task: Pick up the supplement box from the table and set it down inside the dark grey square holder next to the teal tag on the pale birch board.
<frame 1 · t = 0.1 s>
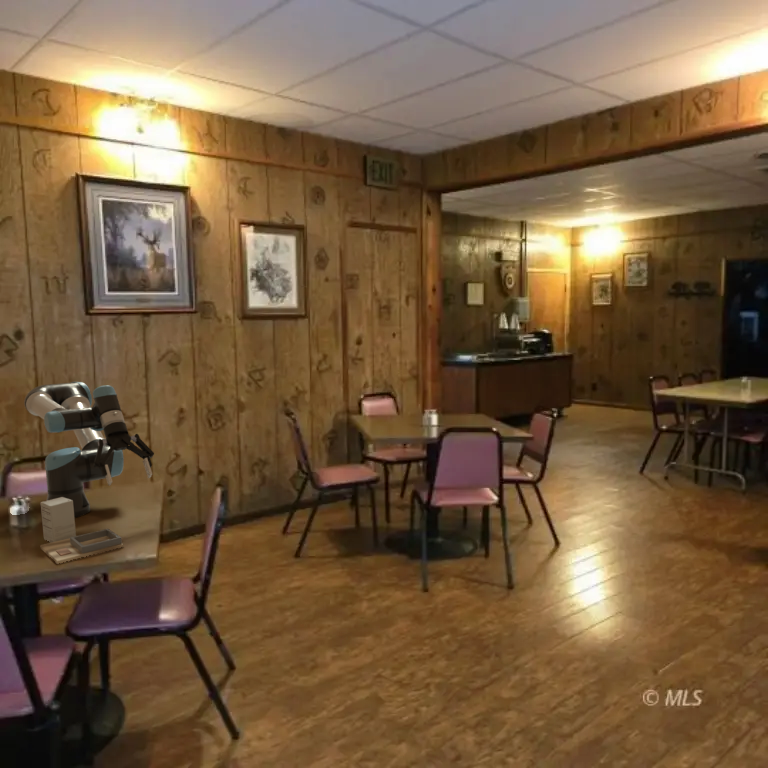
hand: (130, 479, 222), 15 cm above the table, tool tilted 35°, fingers open, 13 cm apart
supplement box: (60, 539, 210), on the table
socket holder: (96, 546, 202), resting on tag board
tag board: (81, 547, 201), on the table
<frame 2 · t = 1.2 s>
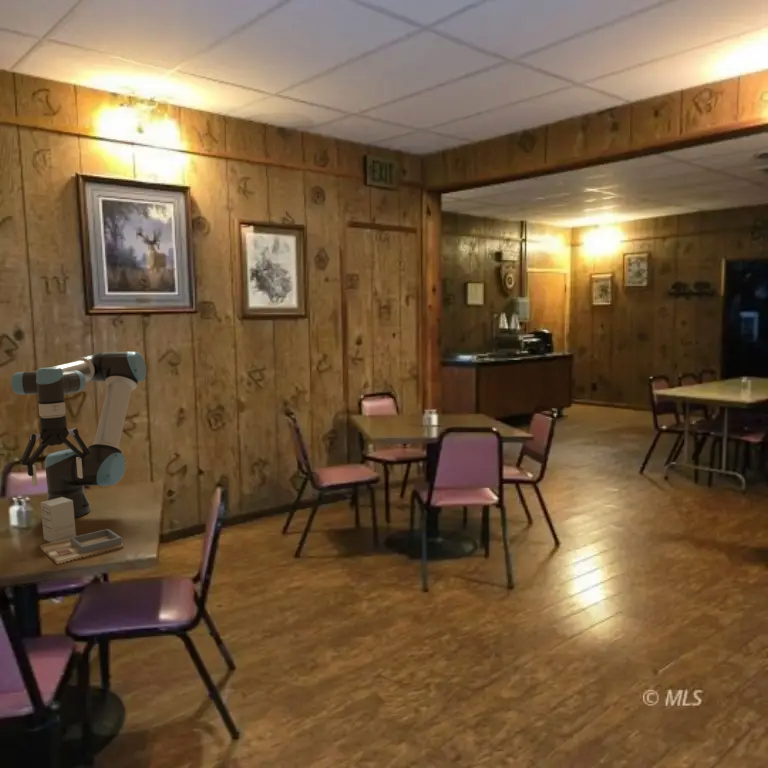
hand: (58, 481, 208), 19 cm above the table, tool pointing down, fingers open, 13 cm apart
nothing on the table moved.
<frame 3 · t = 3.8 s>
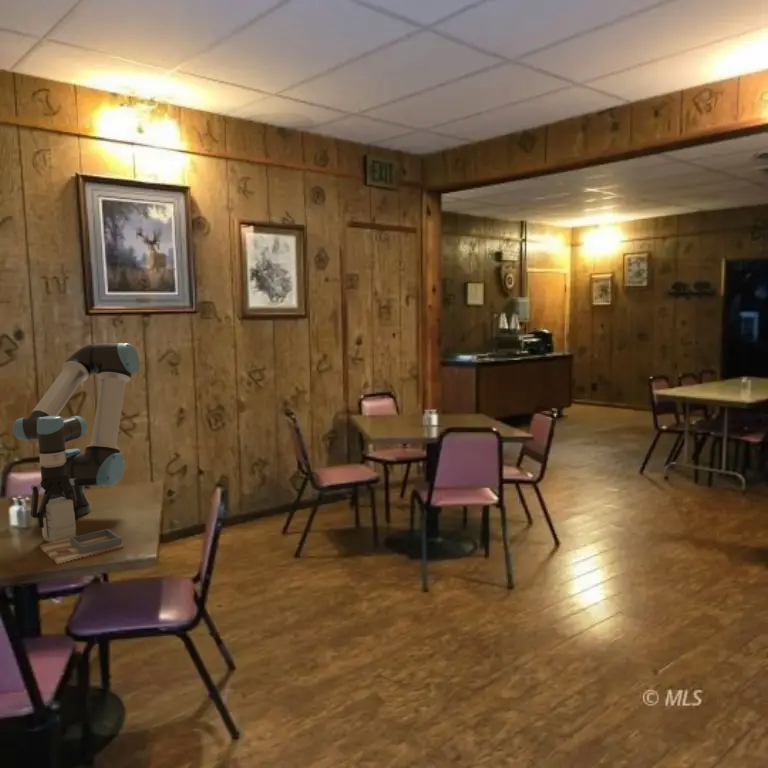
hand: (59, 533, 210), 2 cm above the table, tool pointing down, fingers closed on supplement box, 8 cm apart
supplement box: (59, 539, 210), on the table, touching gripper
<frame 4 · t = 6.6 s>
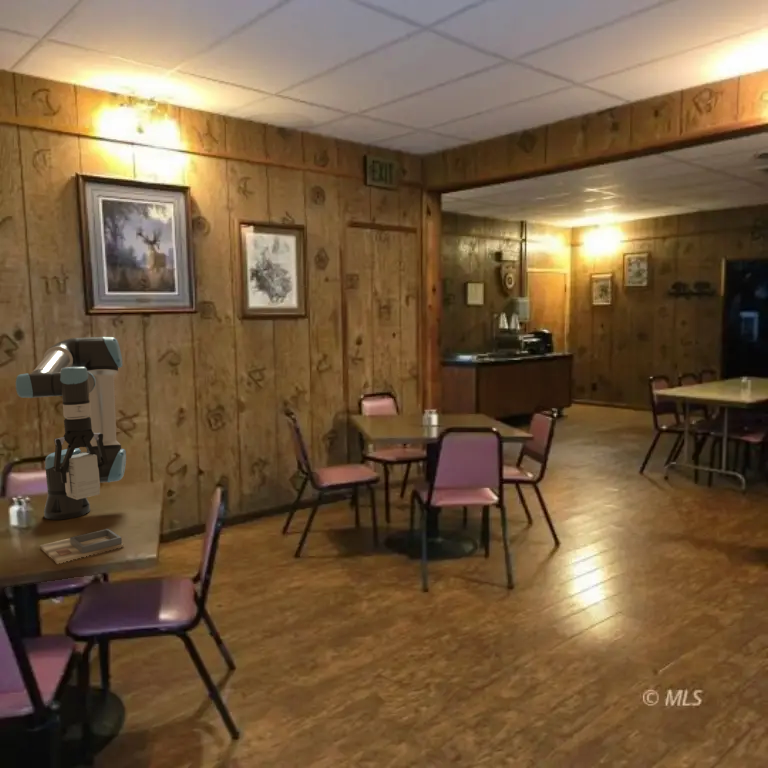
hand: (83, 490, 201), 18 cm above the table, tool pointing down, fingers closed on supplement box, 8 cm apart
supplement box: (83, 496, 201), point 16 cm above the table, touching gripper
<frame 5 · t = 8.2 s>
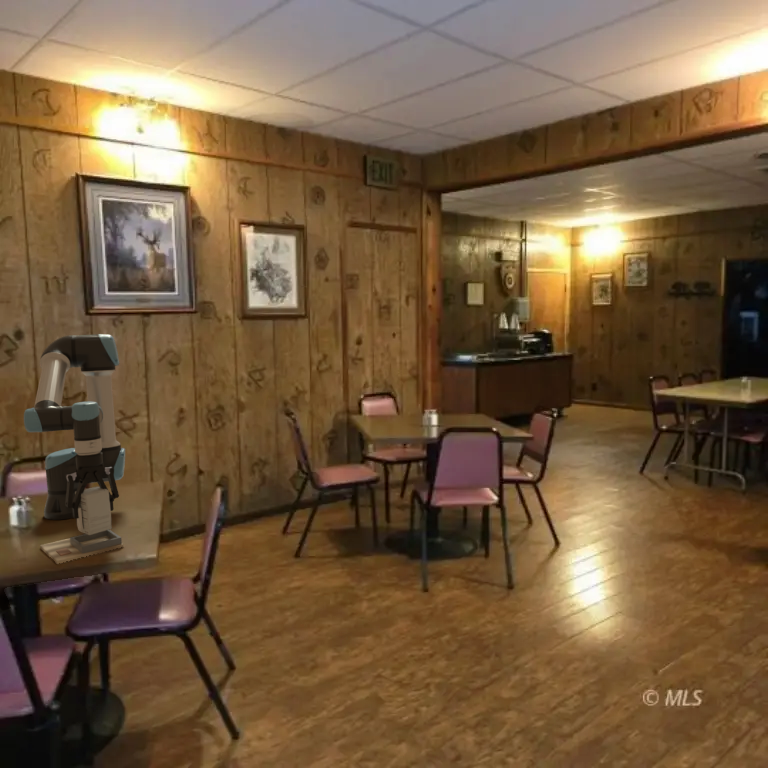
hand: (94, 524, 201), 7 cm above the table, tool pointing down, fingers closed on supplement box, 8 cm apart
supplement box: (94, 530, 201), point 5 cm above the table, touching gripper
when the fingers open (4 cm above the table, at t = 9.6 s): supplement box drops 1 cm, resting on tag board.
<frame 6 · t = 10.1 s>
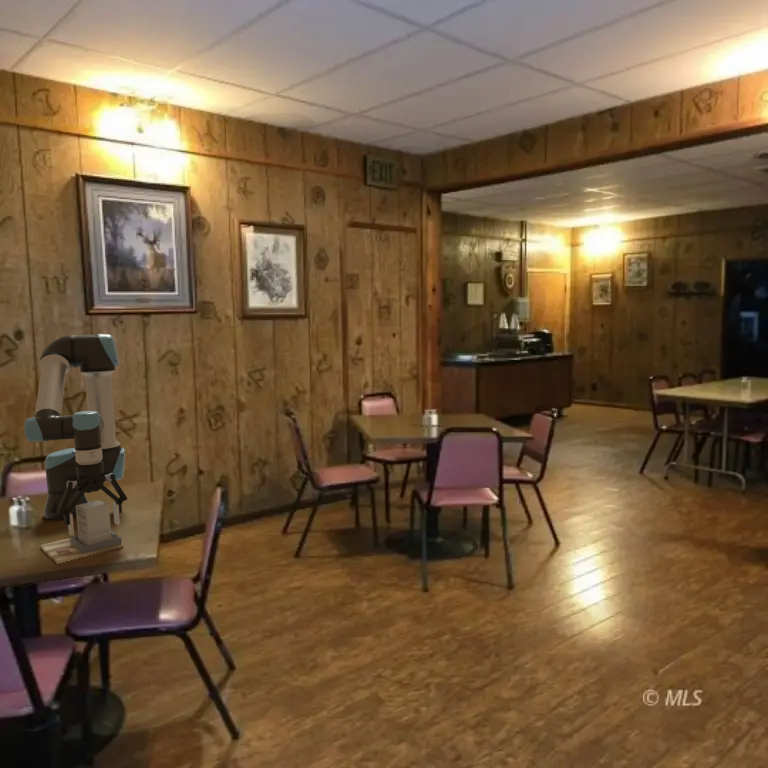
hand: (94, 529, 201), 6 cm above the table, tool pointing down, fingers open, 13 cm apart
supplement box: (95, 544, 201), point 1 cm above the table, touching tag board
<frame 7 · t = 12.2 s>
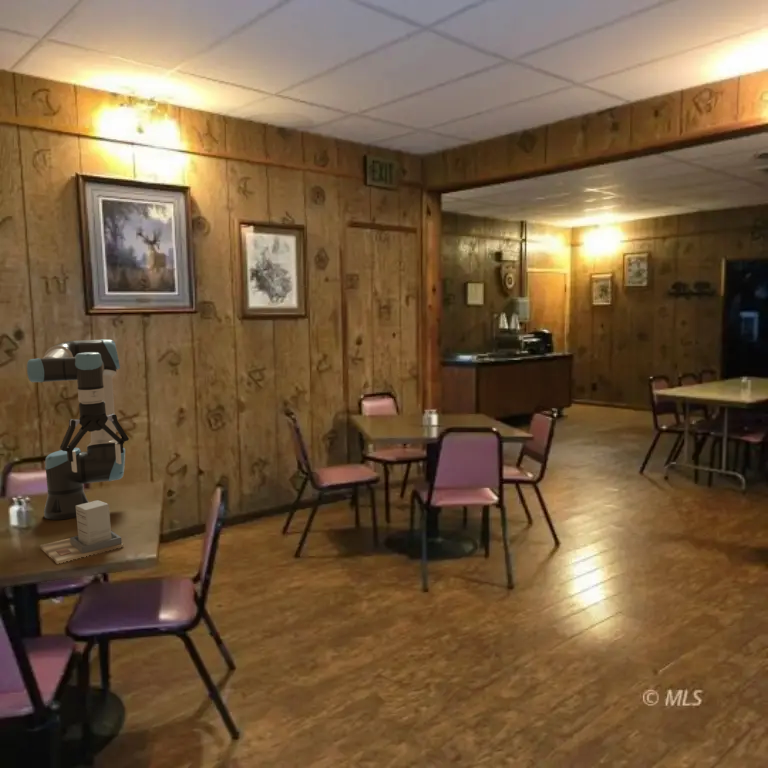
hand: (97, 467, 207), 23 cm above the table, tool pointing down, fingers open, 13 cm apart
nothing on the table moved.
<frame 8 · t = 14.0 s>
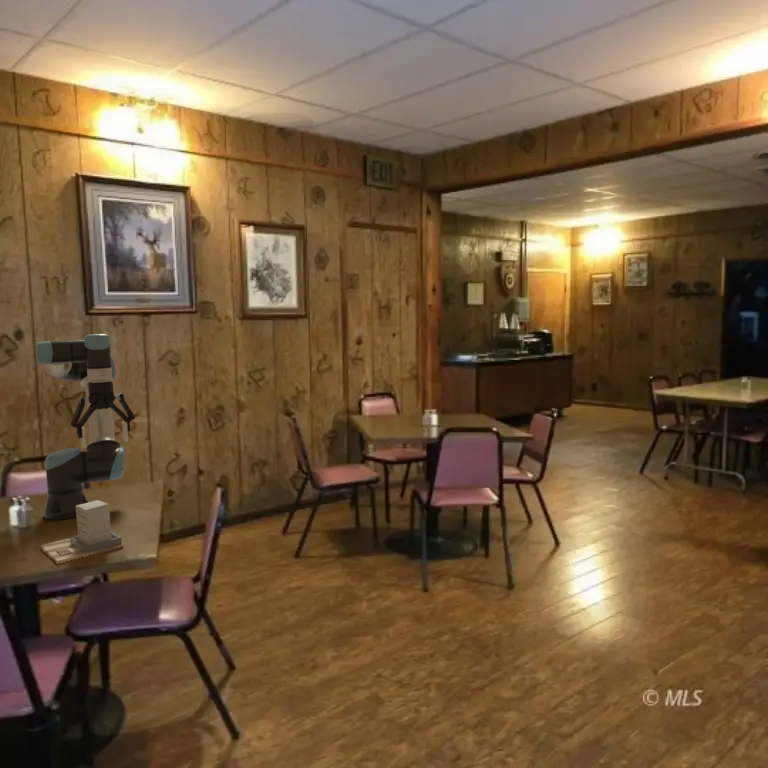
hand: (105, 444, 216), 29 cm above the table, tool pointing down, fingers open, 13 cm apart
nothing on the table moved.
at the end: supplement box 0.2 cm from the target spot, point 0.8 cm above the table; supplement box tilted 0°; the gripper is holding nothing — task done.
